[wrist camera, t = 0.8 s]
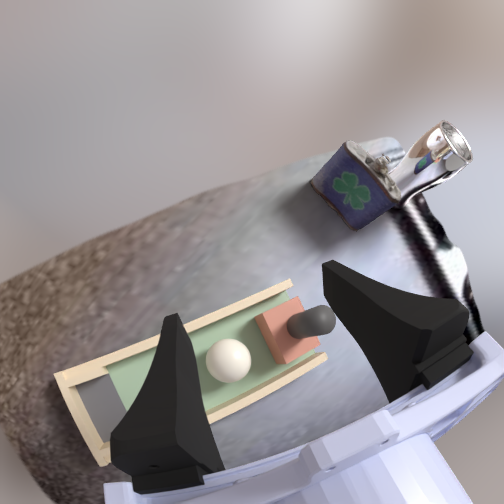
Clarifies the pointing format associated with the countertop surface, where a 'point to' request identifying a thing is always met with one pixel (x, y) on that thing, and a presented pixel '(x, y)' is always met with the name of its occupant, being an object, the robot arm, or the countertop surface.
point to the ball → (228, 360)
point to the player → (294, 329)
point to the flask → (356, 185)
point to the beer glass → (431, 161)
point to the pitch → (202, 337)
